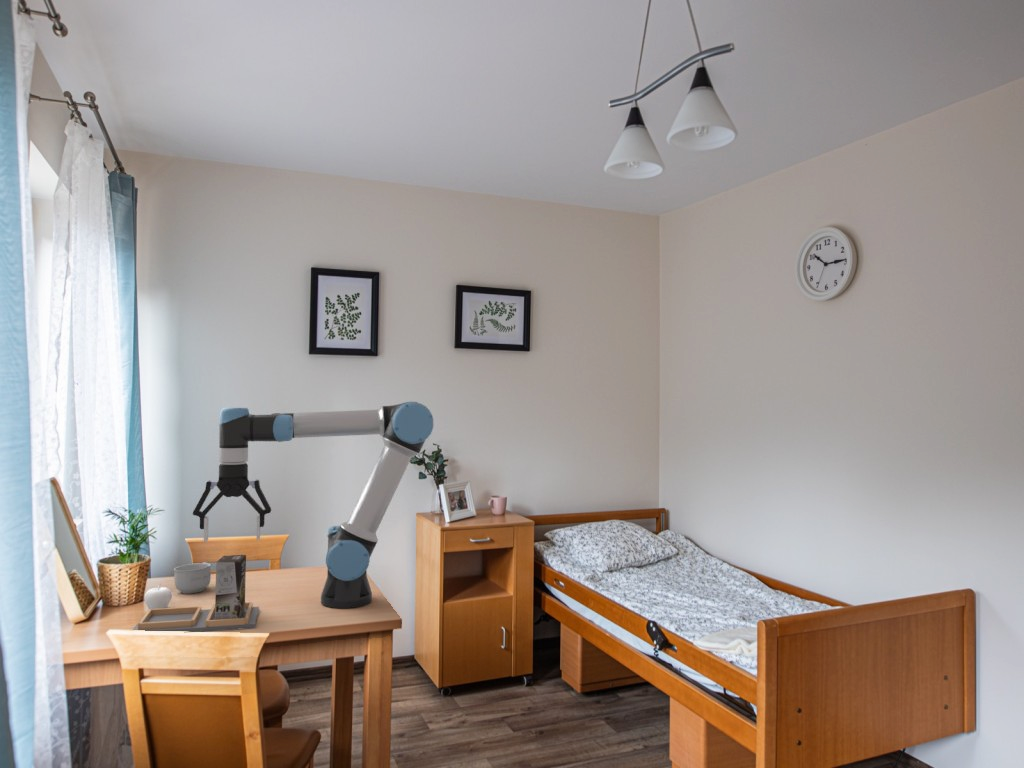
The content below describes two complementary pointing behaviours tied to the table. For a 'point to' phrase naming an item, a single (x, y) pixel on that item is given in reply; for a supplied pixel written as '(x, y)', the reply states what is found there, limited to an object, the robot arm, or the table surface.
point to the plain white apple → (158, 597)
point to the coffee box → (230, 587)
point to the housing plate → (194, 619)
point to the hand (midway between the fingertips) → (232, 539)
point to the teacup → (192, 577)
